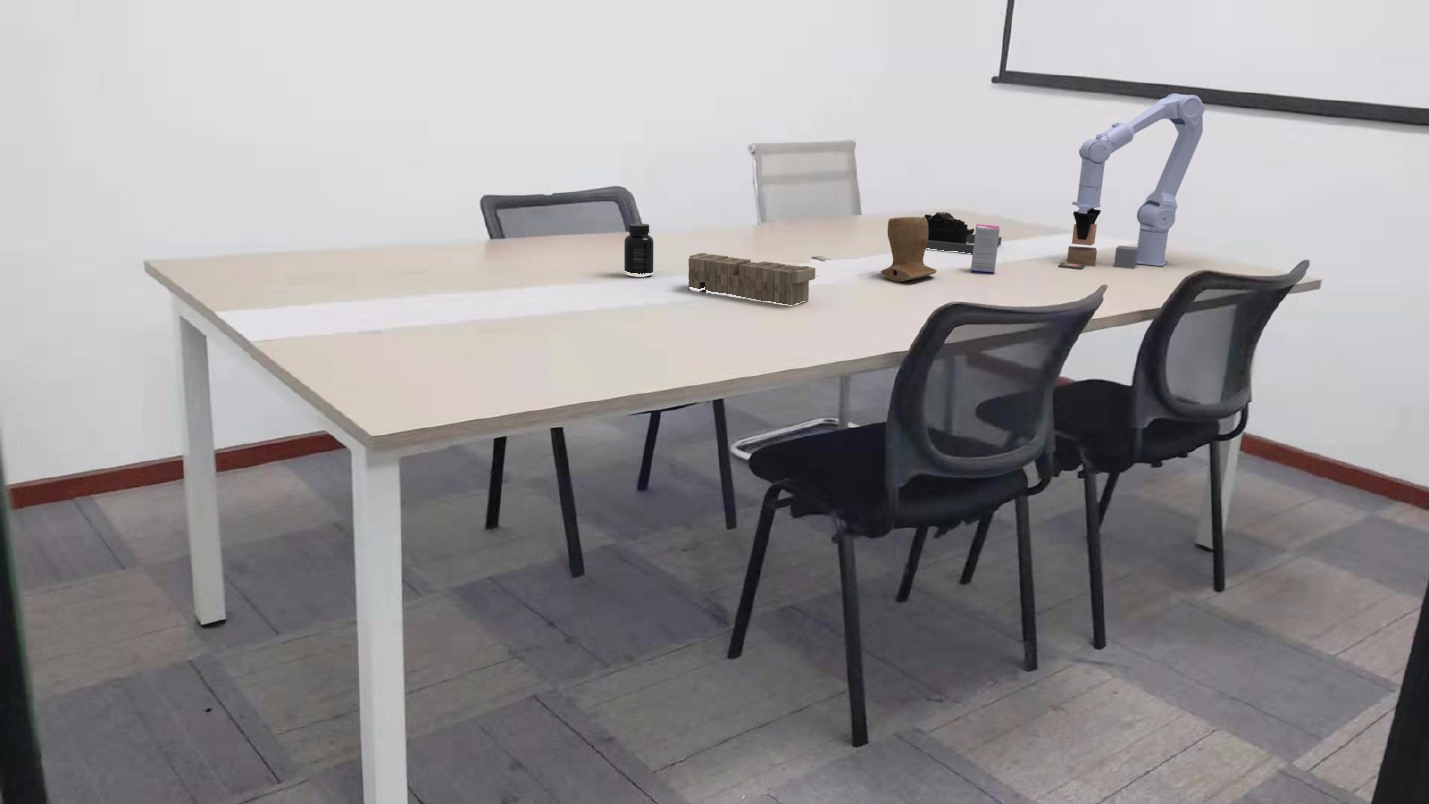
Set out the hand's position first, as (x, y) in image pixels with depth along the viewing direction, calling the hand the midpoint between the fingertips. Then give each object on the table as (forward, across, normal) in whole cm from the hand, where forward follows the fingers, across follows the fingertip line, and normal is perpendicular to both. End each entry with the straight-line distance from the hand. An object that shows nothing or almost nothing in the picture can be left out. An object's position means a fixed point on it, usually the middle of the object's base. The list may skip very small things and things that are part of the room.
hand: (1083, 238), depth 309 cm
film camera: (+7, -3, -38) cm, 38 cm away
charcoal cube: (+7, -2, +11) cm, 13 cm away
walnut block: (+7, 0, 0) cm, 7 cm away
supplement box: (+7, +29, -19) cm, 35 cm away
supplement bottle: (+7, +84, -87) cm, 121 cm away
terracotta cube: (+1, 0, 0) cm, 1 cm away
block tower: (+7, +90, -56) cm, 106 cm away
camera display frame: (+7, -5, -37) cm, 38 cm away
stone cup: (+7, +49, -33) cm, 59 cm away
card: (+7, +8, -1) cm, 10 cm away
